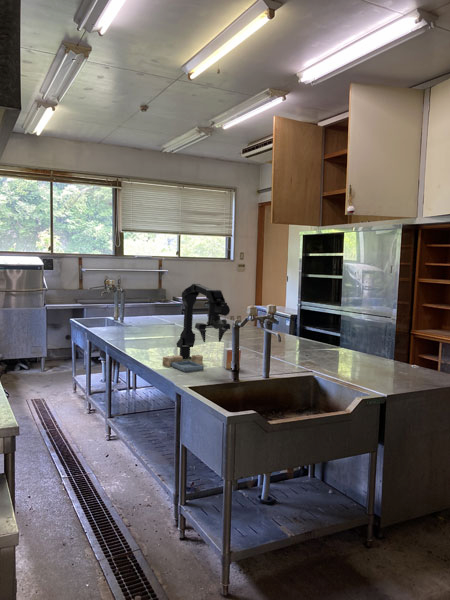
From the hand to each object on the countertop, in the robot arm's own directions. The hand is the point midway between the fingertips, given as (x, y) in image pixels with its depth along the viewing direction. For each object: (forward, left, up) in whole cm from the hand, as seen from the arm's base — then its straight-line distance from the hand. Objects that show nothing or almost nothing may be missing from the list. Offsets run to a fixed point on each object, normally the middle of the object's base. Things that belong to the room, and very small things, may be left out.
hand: (211, 341), depth 251 cm
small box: (+5, +10, -14) cm, 18 cm away
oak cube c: (-14, -18, -14) cm, 27 cm away
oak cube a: (-11, -2, -14) cm, 18 cm away
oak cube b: (-14, -13, -14) cm, 23 cm away
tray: (-4, -13, -14) cm, 19 cm away
